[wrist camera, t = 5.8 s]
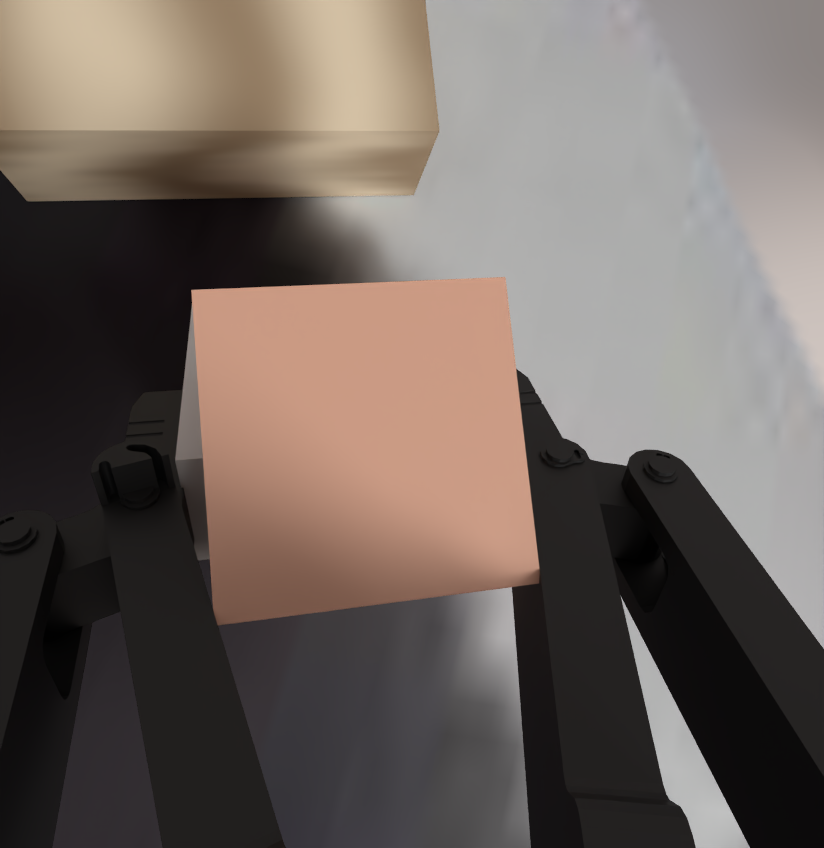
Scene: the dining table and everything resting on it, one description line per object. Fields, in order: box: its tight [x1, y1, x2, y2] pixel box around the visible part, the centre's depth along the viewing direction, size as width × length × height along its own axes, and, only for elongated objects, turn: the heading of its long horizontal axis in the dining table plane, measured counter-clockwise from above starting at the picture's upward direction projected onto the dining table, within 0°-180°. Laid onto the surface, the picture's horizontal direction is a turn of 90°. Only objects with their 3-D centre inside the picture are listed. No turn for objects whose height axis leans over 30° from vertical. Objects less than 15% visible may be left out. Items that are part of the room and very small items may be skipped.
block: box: [191, 277, 540, 625], centre depth 16 cm, size 5×5×11 cm
